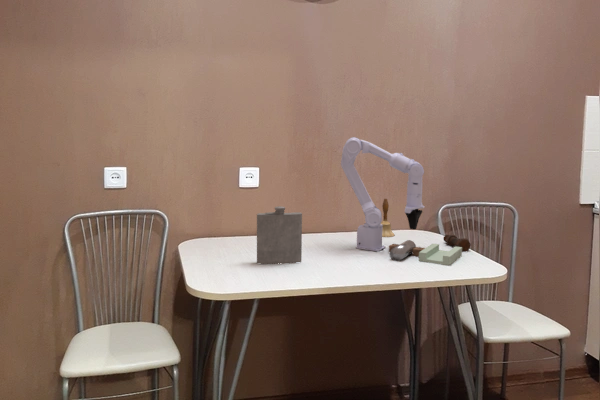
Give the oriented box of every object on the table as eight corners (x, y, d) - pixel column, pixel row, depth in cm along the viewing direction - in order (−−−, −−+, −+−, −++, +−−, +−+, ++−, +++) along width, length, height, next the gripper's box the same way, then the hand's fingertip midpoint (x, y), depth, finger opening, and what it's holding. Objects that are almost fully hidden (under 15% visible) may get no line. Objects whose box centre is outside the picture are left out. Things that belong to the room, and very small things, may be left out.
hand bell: (389, 238, 242) (391, 200, 239) (371, 235, 246) (373, 199, 243) (397, 234, 249) (398, 198, 246) (379, 232, 253) (381, 196, 250)
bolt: (448, 247, 235) (465, 255, 221) (438, 241, 234) (455, 249, 219) (455, 234, 235) (473, 242, 221) (445, 229, 234) (462, 236, 219)
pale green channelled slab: (418, 260, 206) (419, 252, 205) (432, 251, 220) (432, 243, 219) (449, 265, 200) (450, 256, 200) (461, 255, 214) (462, 247, 213)
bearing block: (388, 252, 218) (389, 245, 218) (392, 250, 221) (392, 243, 221) (421, 256, 212) (421, 250, 211) (424, 254, 215) (425, 248, 215)
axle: (401, 263, 205) (404, 249, 204) (388, 259, 207) (390, 246, 206) (414, 254, 217) (416, 242, 216) (402, 251, 219) (404, 238, 218)
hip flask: (300, 260, 205) (301, 205, 202) (302, 263, 201) (303, 207, 198) (256, 262, 202) (256, 206, 199) (257, 265, 198) (257, 208, 195)
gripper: (418, 197, 210) (416, 233, 212) (430, 192, 222) (429, 226, 224) (400, 195, 213) (398, 231, 216) (413, 191, 226) (411, 224, 228)
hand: (412, 228), depth 220 cm, fingers closed
